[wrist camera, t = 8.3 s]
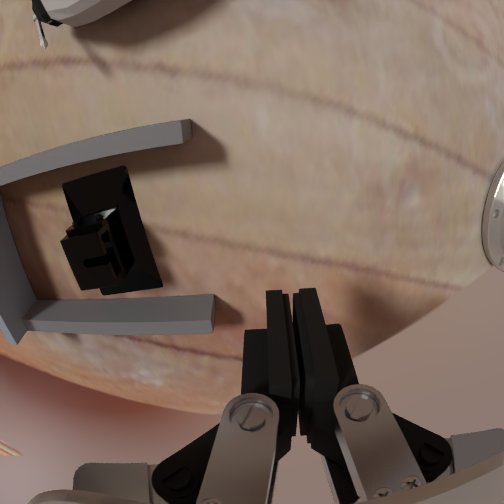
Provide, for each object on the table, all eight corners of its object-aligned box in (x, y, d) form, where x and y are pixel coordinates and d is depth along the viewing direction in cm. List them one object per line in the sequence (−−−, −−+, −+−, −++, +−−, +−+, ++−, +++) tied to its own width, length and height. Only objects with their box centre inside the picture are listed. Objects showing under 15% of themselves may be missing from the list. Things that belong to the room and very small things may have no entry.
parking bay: (190, 118, 16) (171, 122, 12) (215, 306, 23) (211, 354, 18) (-13, 172, 16) (-53, 192, 12) (33, 310, 23) (9, 343, 18)
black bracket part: (180, 296, 23) (169, 337, 19) (102, 306, 23) (82, 342, 19) (134, 137, 17) (105, 148, 13) (49, 166, 18) (12, 184, 13)
